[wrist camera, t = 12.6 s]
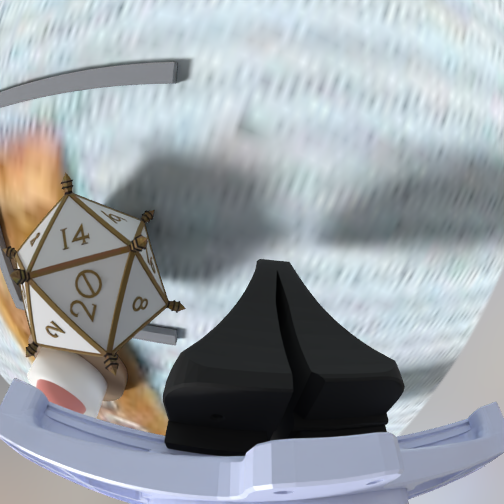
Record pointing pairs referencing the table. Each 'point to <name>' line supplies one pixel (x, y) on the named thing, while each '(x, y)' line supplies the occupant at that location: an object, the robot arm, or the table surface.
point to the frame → (83, 81)
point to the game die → (88, 278)
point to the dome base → (105, 374)
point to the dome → (68, 381)
